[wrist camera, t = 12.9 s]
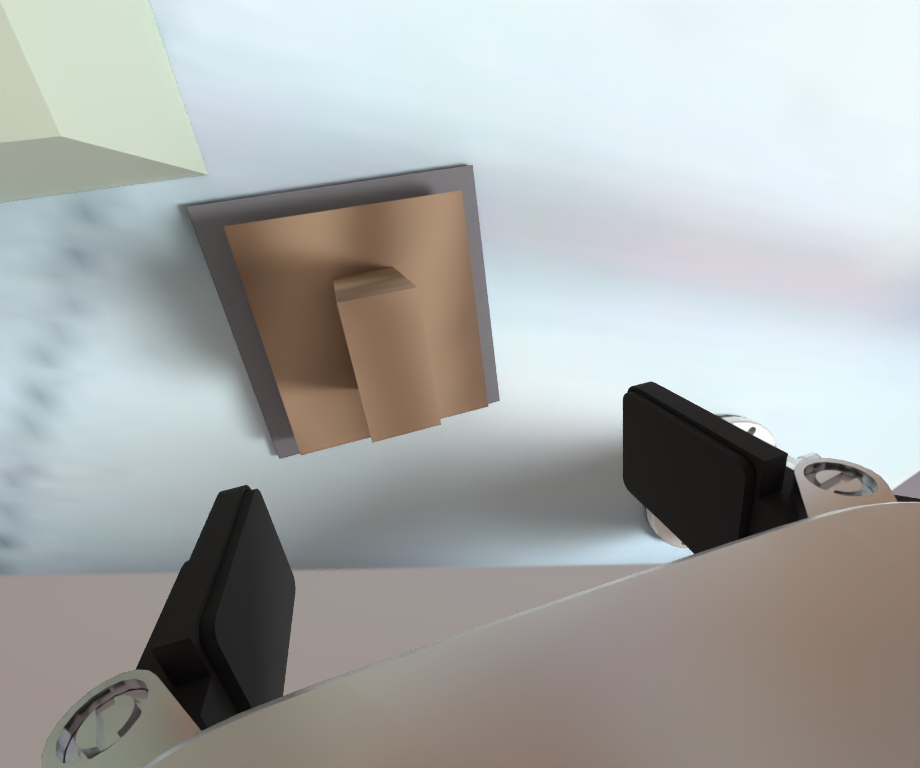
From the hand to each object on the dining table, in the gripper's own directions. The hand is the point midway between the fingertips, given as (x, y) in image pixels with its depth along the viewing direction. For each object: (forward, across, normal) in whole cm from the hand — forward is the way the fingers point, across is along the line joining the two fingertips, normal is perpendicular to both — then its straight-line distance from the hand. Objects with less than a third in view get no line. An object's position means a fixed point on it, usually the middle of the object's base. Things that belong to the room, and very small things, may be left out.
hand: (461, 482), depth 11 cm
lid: (+16, +1, -1) cm, 16 cm away
